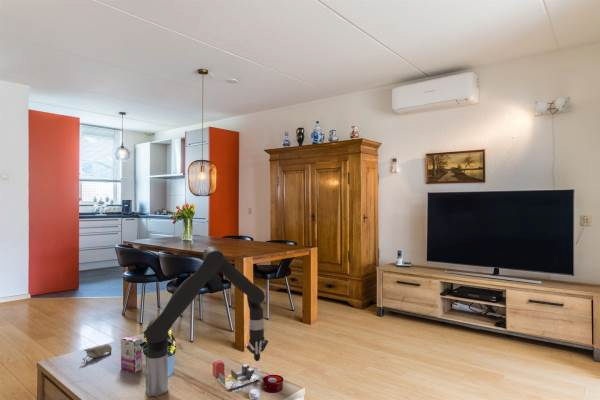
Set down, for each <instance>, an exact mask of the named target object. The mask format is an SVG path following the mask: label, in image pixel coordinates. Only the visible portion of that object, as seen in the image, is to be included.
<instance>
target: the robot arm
mask: <svg viewBox="0 0 600 400" xmlns="http://www.w3.org/2000/svg"><path fill="white" fill-rule="evenodd" d="M202 260H203V261H202V262H201V264H200V266H199V267H198V269H196V271H195V272H194V273H192V274H191V275H190V276H189V277H187V278H186V279H185V280H183V281H182V283H180V285H179V286H178V287H177V288H176V290H175V291H174V292H173V294H172V295H171V297H170V299H169V300H168V302H167V304H166V305H165V307H164V309H163V310H162V312H161V313H160V314H159V315H158V316H157V318H154V319H153V320H151V321H150V322H149V323H148V325H147V327H146V330H145V334H144V335H145V340H146V341H147V344H146V371H145V393H146V394H147V396H148V397H149V398H150V397H157V396H162V395H164V394H166V393H167V392H168V391H169V384H168V383H169V378H168V377H169V375H168V374H169V372H168V371H169V369H168V368H169V366H168V365H169V363H168V361H169V360H168V353H169V352H168V350H169V349H168V347H169V331H170V329H171V328H172V327H173V325H174V323H175V322H176V321H177V319H178V318H179V317H181V315H182V314H183V313H184V312H185V311H186V309H187V308H188V307H189V306H190V305H191V303H192V302H193V301H194V300H195V298H196V297H197V296H198V294H199V293H200V292H201V291H202V289H203V288H204V286H205V285H206V284H207V282H208V281H209V280H210V279H211V278H212V276H213V275H214V274H216V272H218V271H219V272H220V273H221V274H222V275H223V276H224V277H225V278H226V279H227V280H228V281H229V282H230V283H231V284H232V285H233V286H234V287H235V288H236V289H237V290H239V291H240V292H241V293H243V294H245V295H246V300H247V305H248V309H249V319H248V320H249V322H248V324H249V325H248V328H249V329H248V330H249V333H248V334H249V339H248V342H247V343H246V344H245V345H244V346H245V347H246V349H247V350H248V351H249V352H250V353H251V354H252V355H253V360H254V361H255V362H258V361H260V359H261V353H262V352H264V350H265V349H266V347H267V345H268V343H269V340H267V339H266V338H265V326H264V325H265V322H264V321H265V320H264V308H263V307H262V305H261V303H263V302H264V301H265V298H266V296H265V292H264V290H262V288H260V287H258V286H257V285H255V284H254V283H253V282H252V281H251V280H250V279H249V278H248V277H247V276H245V274H243V273H242V272H241V271H240V270H239V269H237V268H236V267H235V266H234V265H233V264H232V263H230V261H229V260H228V259H226V257H225V256H224V254H223V251H222V250H221V249H219V248H218V247H216V246H209V247H206V248H205V249H204V251H203V253H202ZM251 347H252V348H251Z"/></svg>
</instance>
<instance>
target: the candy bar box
mask: <svg viewBox="0 0 600 400" xmlns="http://www.w3.org/2000/svg"><path fill="white" fill-rule="evenodd" d="M142 339H143V338H140V337H135V336H131V335H126V336H124V337H121V338H120V369H121V370H125V371H127V372H131V373H137V372H140V371H142V370H143V346H142V347H141V346H140V344H142V345H143V340H142Z"/></svg>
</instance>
